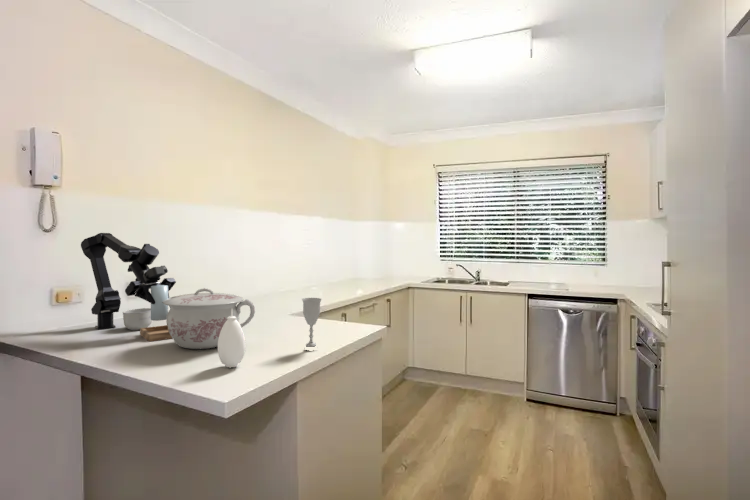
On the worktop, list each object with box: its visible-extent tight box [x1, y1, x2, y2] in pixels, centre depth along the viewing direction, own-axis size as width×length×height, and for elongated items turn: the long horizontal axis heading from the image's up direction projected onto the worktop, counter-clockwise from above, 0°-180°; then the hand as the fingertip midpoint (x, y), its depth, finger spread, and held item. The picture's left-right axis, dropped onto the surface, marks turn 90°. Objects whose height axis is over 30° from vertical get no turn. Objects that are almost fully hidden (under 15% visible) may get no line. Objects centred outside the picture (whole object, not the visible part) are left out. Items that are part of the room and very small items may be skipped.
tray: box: [139, 324, 173, 343], centre depth 164 cm, size 14×12×3 cm
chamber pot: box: [162, 287, 256, 351], centre depth 152 cm, size 28×28×21 cm
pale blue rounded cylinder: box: [150, 285, 169, 322], centre depth 163 cm, size 6×6×13 cm
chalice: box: [301, 297, 323, 347], centre depth 148 cm, size 7×7×18 cm
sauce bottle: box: [217, 309, 246, 368], centre depth 127 cm, size 8×8×18 cm
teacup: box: [122, 307, 153, 331], centre depth 178 cm, size 14×11×8 cm
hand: (161, 302), depth 162 cm, fingers closed on pale blue rounded cylinder, 6 cm apart
